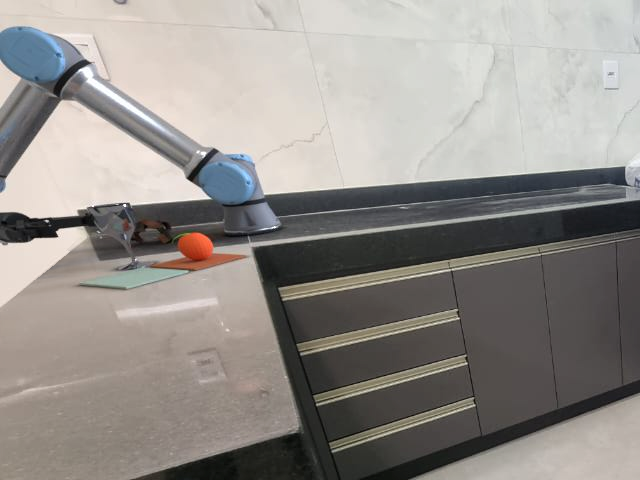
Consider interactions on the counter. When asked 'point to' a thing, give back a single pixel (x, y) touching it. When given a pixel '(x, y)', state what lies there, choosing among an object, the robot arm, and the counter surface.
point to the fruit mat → (197, 262)
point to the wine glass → (118, 227)
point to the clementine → (195, 246)
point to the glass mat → (134, 278)
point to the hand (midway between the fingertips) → (83, 225)
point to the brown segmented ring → (154, 225)
